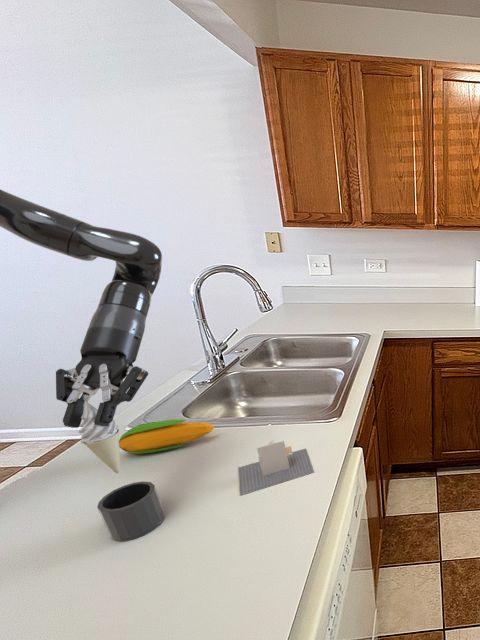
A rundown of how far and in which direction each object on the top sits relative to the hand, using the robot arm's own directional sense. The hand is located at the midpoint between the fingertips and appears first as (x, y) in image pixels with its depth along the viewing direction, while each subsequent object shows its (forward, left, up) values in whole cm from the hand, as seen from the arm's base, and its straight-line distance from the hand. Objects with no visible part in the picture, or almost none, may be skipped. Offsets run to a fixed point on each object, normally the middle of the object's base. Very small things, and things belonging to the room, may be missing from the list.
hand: (86, 425), depth 66 cm
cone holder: (0, +2, -23) cm, 23 cm away
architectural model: (+22, +14, -23) cm, 35 cm away
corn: (-6, +31, -23) cm, 39 cm away
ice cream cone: (+1, +2, -11) cm, 11 cm away
